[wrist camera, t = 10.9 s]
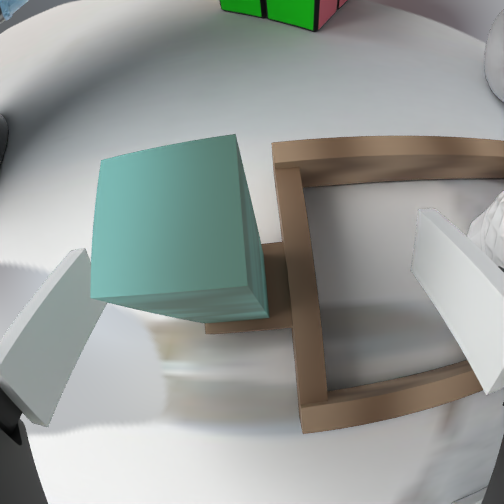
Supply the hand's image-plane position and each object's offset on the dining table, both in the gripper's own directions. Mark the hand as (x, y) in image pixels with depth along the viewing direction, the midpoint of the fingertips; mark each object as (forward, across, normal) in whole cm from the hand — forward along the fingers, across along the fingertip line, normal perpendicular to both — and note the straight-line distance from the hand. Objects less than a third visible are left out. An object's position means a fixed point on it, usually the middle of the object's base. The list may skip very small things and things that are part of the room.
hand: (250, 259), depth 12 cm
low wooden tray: (+3, +9, -4) cm, 10 cm away
